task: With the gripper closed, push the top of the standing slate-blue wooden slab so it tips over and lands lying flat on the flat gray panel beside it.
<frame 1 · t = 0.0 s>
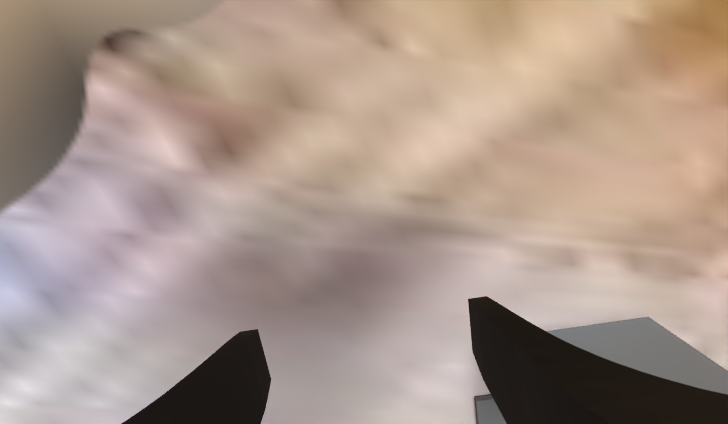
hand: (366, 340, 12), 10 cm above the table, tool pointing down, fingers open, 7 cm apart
slab: (572, 351, 24), on the table
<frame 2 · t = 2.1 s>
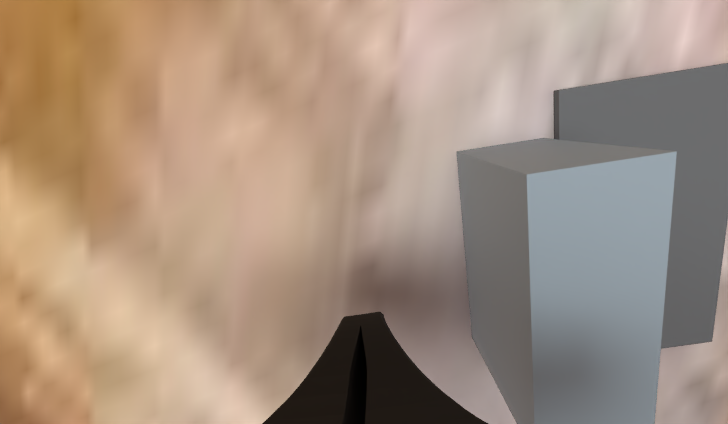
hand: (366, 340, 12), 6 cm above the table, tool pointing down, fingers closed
slab: (504, 244, 17), on the table
flat gray panel: (636, 226, 17), on the table
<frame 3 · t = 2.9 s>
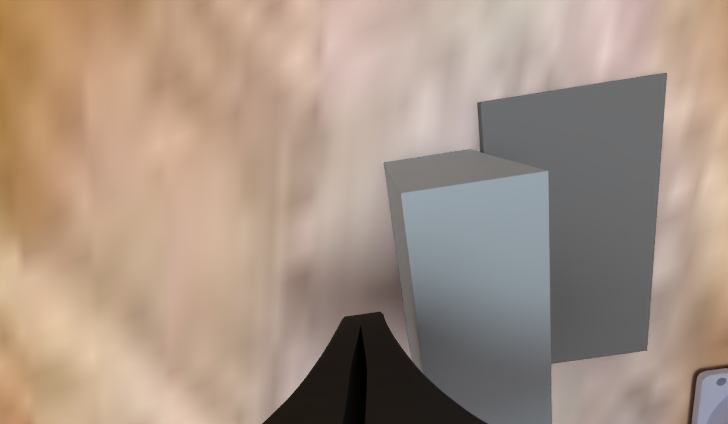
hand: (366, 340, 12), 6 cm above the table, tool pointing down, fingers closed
slab: (436, 254, 17), on the table
flat gray panel: (567, 236, 17), on the table
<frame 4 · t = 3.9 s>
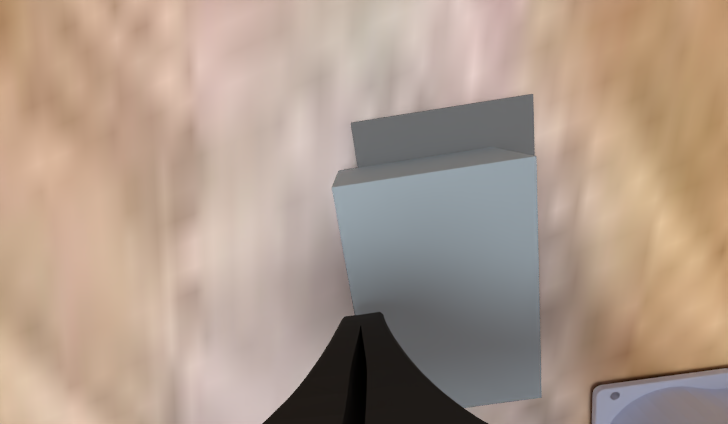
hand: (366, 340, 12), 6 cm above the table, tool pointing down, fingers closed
slab: (355, 290, 15), point 2 cm above the table, tilted 90°, touching flat gray panel
flat gray panel: (452, 253, 17), on the table
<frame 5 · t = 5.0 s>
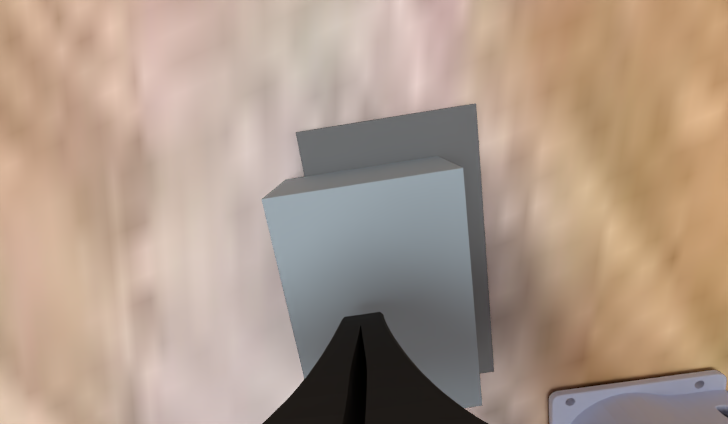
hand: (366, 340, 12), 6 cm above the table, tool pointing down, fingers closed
slab: (300, 298, 15), point 2 cm above the table, tilted 90°, touching flat gray panel
flat gray panel: (403, 260, 17), on the table
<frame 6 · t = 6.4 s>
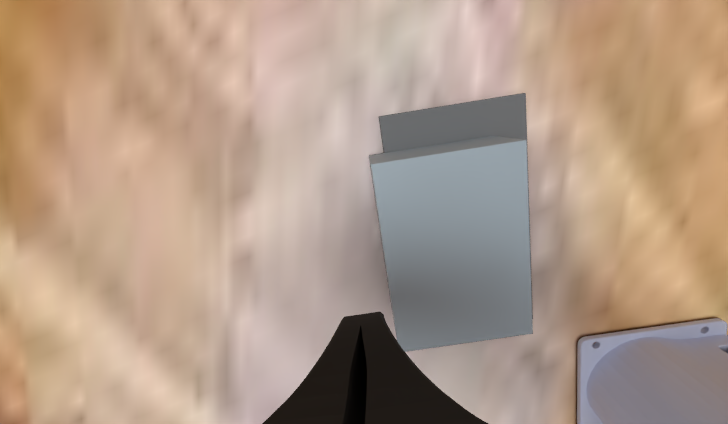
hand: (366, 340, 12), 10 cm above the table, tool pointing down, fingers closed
slab: (383, 250, 19), point 2 cm above the table, tilted 90°, touching flat gray panel
flat gray panel: (460, 224, 21), on the table
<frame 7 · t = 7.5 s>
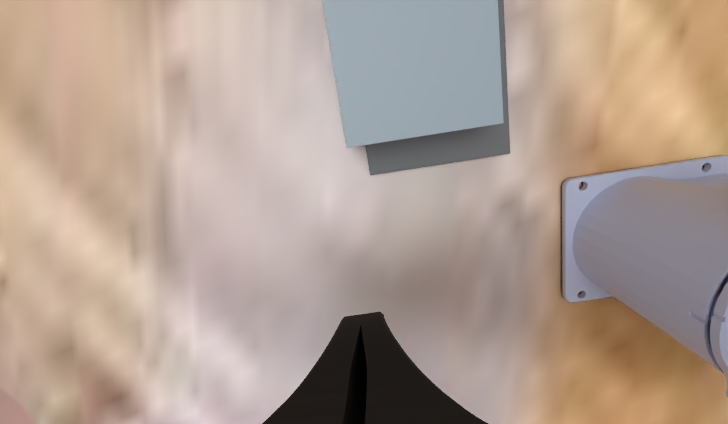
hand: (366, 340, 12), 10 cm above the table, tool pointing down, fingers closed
slab: (330, 36, 16), point 2 cm above the table, tilted 90°, touching flat gray panel
flat gray panel: (425, 31, 18), on the table
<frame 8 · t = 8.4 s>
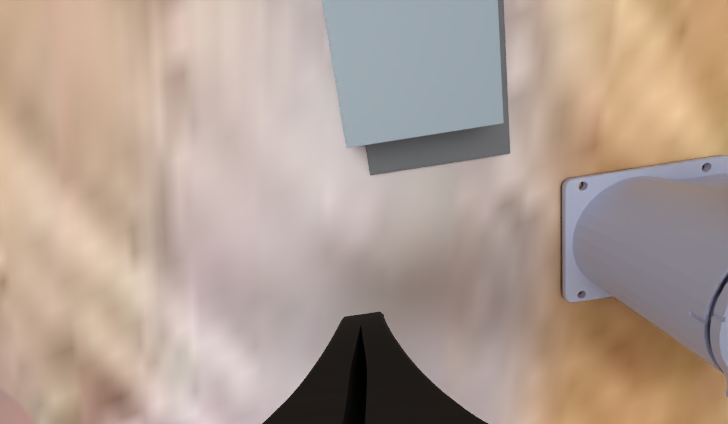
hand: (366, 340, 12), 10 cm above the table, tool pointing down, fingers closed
slab: (330, 36, 16), point 2 cm above the table, tilted 90°, touching flat gray panel
flat gray panel: (425, 31, 18), on the table
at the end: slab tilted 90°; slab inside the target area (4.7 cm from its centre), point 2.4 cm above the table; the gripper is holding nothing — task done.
